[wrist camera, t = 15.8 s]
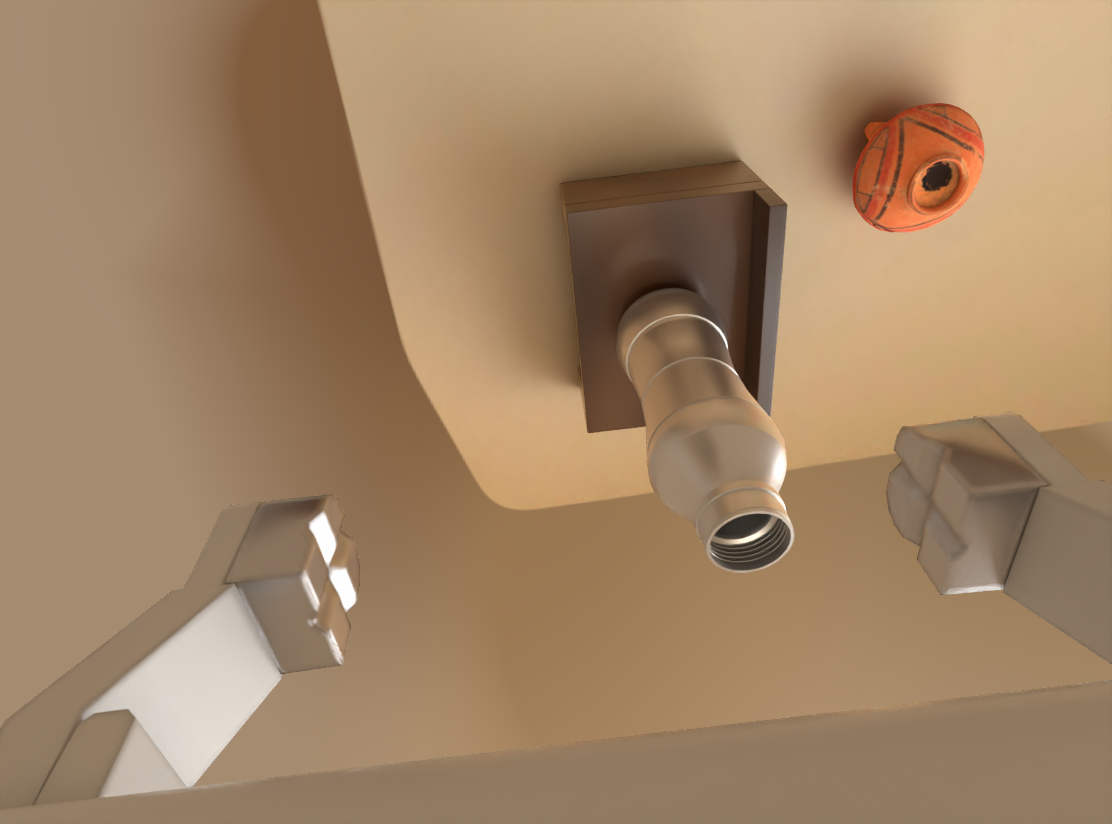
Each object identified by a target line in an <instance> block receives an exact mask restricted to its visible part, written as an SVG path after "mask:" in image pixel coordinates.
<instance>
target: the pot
mask: <svg viewBox="0 0 1112 824" xmlns="http://www.w3.org/2000/svg"><path fill="white" fill-rule="evenodd" d="M865 134H866V137H867V139H868V141H869V142H868V144H867V145H866V147H865V148H864V150H863V152H862V153H861V155H860V157H859V159H858V162H857V164H856V167H855V171H854V175H853V201H854V205H855V207H856V209H857V211H858V212H859V213H860V215H861V216H862V217H863V218H864V220H865V221H866V222H868V223H869V224H870V225H872V226H873V227H875V228H877V229H879V230H882V231H888V232H893V231H894V232H913V231H917V230H922V229H925V228H928V227H931V226H933V225H935V224H937V223H939V222H941V221H943V220H944V219H946V218H948V217H949V216H951V215H952V214H953V213H954V212H956V211H957V210H958V209H959V208H960V207H961V206H962V205H963V204H964V203H965V202H966V200H967V199H968V198H969V196H970V195H971V193H972V192H973V190H974V188H975V186H976V185H977V183H978V180H979V178H980V175H981V172H982V168H983V162H984V143H983V139H982V134H981V131H980V129H979V126H978V124H977V123H976V121H975V120H974V119H973V118H972V117H971V116H970V115H969V114H968V113H967V112H965V111H964V110H962V109H960V108H958V107H956V106H953V105H950V104H944V103H937V104H927V105H920V106H916V107H913V108H910V109H907V110H905V111H903V112H901V113H900V114H898V115H896V116H895V117H893V118H892V119H891V120H889V121H888V122H887V123H884V122H872V123H869V124H868V125H867V126H866V127H865Z"/></svg>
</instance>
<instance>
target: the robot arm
mask: <svg viewBox="0 0 1112 824" xmlns="http://www.w3.org/2000/svg"><path fill="white" fill-rule="evenodd" d="M894 451H895V452H896V453H897V455H898V456H899V457H900V459H901V460H902V461H901V462H900V463H899V464H898V465H897V466H896V467H895V468H894V469H893V470H892V472H890V474H889V477H888V484H887V490H886V495H887V502H888V509H889V513H890V515H891V518H892V521H893V523H894V525H895V527H896V528H897V530H898V531H899V533H900V535H901V536H902V537H903V538H905V539H907V540H909V541H911V542H912V543H914V544H916V545H918V546H920V548H919V553H918V557H917V560H918V562H919V563H920V565H921V566H922V568H923V569H924V571H925V572H926V574H927V575H928V577H929V578H930V580H931V581H932V583H933V584H934V586H935V587H936V589H937V590H938V592H939V593H940V595H944V594H955V593H967V592H978V591H989V590H999V589H1004V590H1003V593H1005V594H1006V595H1008V596H1009V597H1011V598H1012V599H1014V600H1016V601H1017V602H1019V603H1020V604H1022V605H1023V606H1025V607H1026V608H1028V609H1029V610H1031V611H1032V612H1034V613H1035V614H1037V615H1038V616H1040V617H1042V618H1043V619H1044V620H1046V621H1047V622H1049V623H1050V624H1052V625H1054V626H1055V627H1056V628H1058V629H1059V630H1061V631H1062V632H1064V633H1065V634H1067V635H1068V636H1070V637H1072V638H1073V639H1074V640H1076V641H1077V642H1079V643H1080V644H1082V645H1083V646H1085V647H1087V648H1088V649H1089V650H1091V651H1092V652H1094V653H1095V654H1097V655H1098V656H1100V657H1101V658H1103V659H1104V660H1106V661H1108V662H1109V663H1111V664H1112V483H1110V482H1107V481H1104V480H1100V481H1091V480H1090V479H1089V478H1087V477H1086V476H1085V475H1084V474H1083V473H1082V472H1081V471H1080V470H1079V469H1078V468H1077V467H1075V466H1074V465H1073V464H1072V463H1071V462H1070V461H1069V460H1068V459H1067V458H1066V457H1065V456H1064V455H1063V454H1062V453H1060V452H1059V451H1058V450H1057V449H1056V448H1055V447H1054V446H1053V445H1052V444H1051V443H1050V442H1049V441H1048V440H1046V439H1045V438H1044V437H1043V436H1042V435H1041V434H1040V433H1039V432H1038V431H1037V430H1036V429H1035V428H1034V427H1032V426H1031V425H1030V424H1029V423H1028V422H1027V421H1026V420H1025V419H1024V418H1023V417H1022V416H1020V415H1018V414H1016V413H1013V412H1010V411H1009V412H1002V413H995V414H988V415H981V416H974V417H973V418H967V419H959V420H951V421H943V422H935V423H927V424H919V425H911V426H903V427H902V428H901V430H900V431H899V433H898V435H897V437H896V442H895V447H894ZM343 519H344V513H343V510H342V508H341V505H340V503H339V501H338V498H336V497H335V496H333V495H323V496H311V497H301V498H291V499H281V500H270V501H264V502H254V503H245V504H236V505H230V506H228V507H227V508H225V509H224V510H223V511H222V512H221V514H220V516H219V518H218V520H217V522H216V524H215V526H214V528H213V530H212V532H211V534H210V536H209V538H208V540H207V542H206V544H205V546H204V548H203V550H202V552H201V554H200V556H199V558H198V560H197V562H196V565H195V567H194V569H193V571H192V573H191V575H190V576H189V578H188V581H187V583H186V585H185V587H184V589H182V590H174V591H171V592H170V593H169V594H167V595H166V596H165V597H164V598H163V599H161V600H160V601H159V602H157V603H156V604H155V605H153V606H152V607H151V608H149V609H148V610H147V611H146V612H144V613H143V614H142V615H140V616H139V617H138V618H137V619H135V620H134V621H133V622H131V623H130V624H129V625H128V626H126V627H125V628H124V629H122V630H121V631H120V632H118V633H117V634H116V635H115V636H113V637H112V638H111V639H110V640H108V641H107V642H106V643H104V644H103V645H102V646H100V647H99V648H98V649H97V650H96V651H94V652H93V653H92V654H90V655H89V656H88V657H86V658H85V659H84V660H82V661H81V662H80V663H79V664H77V665H76V666H75V667H73V668H72V669H71V670H70V671H68V672H67V673H66V674H64V675H63V676H62V677H61V678H59V679H58V680H57V681H55V682H54V683H53V684H52V685H50V686H49V687H48V688H46V689H45V690H44V691H43V692H41V693H40V694H39V695H38V696H36V697H35V698H33V699H32V700H31V701H30V702H28V703H27V704H26V705H24V706H23V707H22V708H21V709H19V710H18V711H17V712H16V713H14V714H13V715H12V716H10V717H9V718H8V719H6V720H5V722H4V723H3V725H2V727H1V728H0V824H1112V680H1108V681H1100V682H1091V683H1082V684H1074V685H1066V686H1057V687H1048V688H1040V689H1031V690H1022V691H1014V692H1005V693H996V694H988V695H979V696H971V697H962V698H953V699H946V700H945V699H944V700H936V701H927V702H919V703H910V704H902V705H894V706H884V707H876V708H867V709H859V710H850V711H841V712H833V713H825V714H816V715H807V716H799V717H790V718H782V719H773V720H764V721H756V722H748V723H738V724H731V725H721V726H712V727H704V728H696V729H687V730H678V731H669V732H661V733H652V734H644V735H635V736H626V737H618V738H609V739H600V740H592V741H583V742H576V743H567V744H557V745H549V746H540V747H532V748H523V749H515V750H506V751H497V752H489V753H480V754H472V755H463V756H454V757H446V758H438V759H428V760H420V761H412V762H403V763H395V764H385V765H377V766H369V767H360V768H351V769H343V770H335V771H325V772H317V773H308V774H300V775H291V776H283V777H274V778H265V779H257V780H248V781H241V782H240V781H239V782H231V783H222V784H214V785H205V786H197V787H192V786H193V785H194V784H195V783H196V782H197V780H198V779H199V778H200V777H201V775H202V774H203V773H204V772H205V771H206V769H207V768H208V767H209V766H210V765H211V763H212V762H213V761H214V760H215V758H216V757H217V756H218V755H219V754H220V752H221V751H222V750H223V749H224V747H225V746H226V745H227V744H228V743H229V741H230V740H231V739H232V738H233V736H234V735H235V734H236V733H237V732H238V730H239V729H240V728H241V727H242V726H243V724H244V723H245V722H246V721H247V719H248V718H249V717H250V716H251V715H252V713H253V712H254V711H255V710H256V709H257V707H258V706H259V705H260V704H261V702H262V701H263V700H264V699H265V697H266V696H267V695H268V694H269V693H270V691H271V690H272V689H273V688H274V687H275V685H276V684H277V683H278V682H279V680H280V679H281V678H282V676H281V674H285V673H292V672H299V671H306V670H313V669H319V668H326V667H333V666H340V665H342V664H343V660H344V655H345V651H346V646H347V642H348V638H349V633H350V629H351V625H350V622H349V620H348V617H347V614H346V611H347V610H348V609H349V608H350V607H351V606H352V605H353V604H354V603H355V602H356V601H357V596H358V591H359V586H360V564H359V558H358V553H357V549H356V546H355V543H354V540H353V538H352V537H350V536H349V535H348V534H346V533H345V532H343V531H342V530H341V527H342V523H343Z"/></svg>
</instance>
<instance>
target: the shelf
mask: <svg viewBox="0 0 1112 824" xmlns="http://www.w3.org/2000/svg"><path fill="white" fill-rule="evenodd" d="M560 191H561V201H562V211H563V216H564V221H565V226H566V231H567V235H568V245H569V256H570V266H571V276H572V286H573V297H574V307H575V317H576V327H577V338H578V348H579V358H580V367H579V368H578V371H579V381H580V390H581V396H582V402H583V408H584V414H585V420H586V426H587V432H588V433H594V432H602V431H611V430H619V429H628V428H636V427H644V426H646V424H645V419H644V413H643V408H642V403H641V401H640V398H639V396H638V394H637V391H636V389H635V387H634V384H633V383H632V382H631V380H630V379H629V378H628V376H627V375H626V373H625V371H624V369H623V368H622V366H621V364H620V361H619V359H618V356H617V351H616V343H617V330H618V326H619V323H620V320H621V318H622V316H623V314H624V313H625V312H626V310H627V309H628V308H629V307H630V306H631V305H632V304H633V303H634V302H635V301H636V300H637V299H639V298H641V297H642V296H644V295H646V294H648V293H650V292H653V291H655V290H660V289H664V288H680V289H686V290H689V291H692V292H695V293H696V294H698V295H700V296H701V297H703V298H704V299H705V300H706V301H707V302H708V303H709V304H710V305H711V306H712V307H713V308H714V309H715V310H716V311H717V312H718V314H719V315H720V317H721V319H722V322H723V325H724V328H725V332H726V336H727V345H728V352H729V355H730V358H731V361H732V364H733V367H734V370H735V371H736V373H737V374H738V376H739V378H740V380H741V381H742V383H743V384H744V386H745V387H746V389H747V391H748V392H749V393H750V394H751V396H752V397H753V398H754V399H755V400H756V401H757V403H758V404H759V405H760V406H761V407H762V408H763V410H764V411H765V412H766V413H767V414H768V416H769V417H770V418H771V406H772V393H773V380H774V368H775V355H776V342H777V330H778V317H779V305H780V292H781V279H782V267H783V254H784V241H785V229H786V216H787V204H786V203H785V202H784V201H783V200H782V199H781V198H780V197H779V196H778V195H777V194H776V193H775V192H774V191H773V190H772V189H771V188H770V187H769V186H768V185H767V184H765V183H764V182H763V181H762V180H761V179H760V178H759V177H758V176H757V175H756V174H755V173H754V172H753V171H752V170H751V169H750V168H749V167H748V166H747V165H746V164H745V163H744V162H743V161H738V162H730V163H722V164H713V165H705V166H697V167H689V168H681V169H672V170H664V171H656V172H648V173H640V174H632V175H623V176H615V177H607V178H599V179H591V180H583V181H574V182H566V183H560Z"/></svg>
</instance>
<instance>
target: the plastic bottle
mask: <svg viewBox="0 0 1112 824" xmlns="http://www.w3.org/2000/svg"><path fill="white" fill-rule="evenodd" d="M616 351H617V356H618V359H619V361H620V364H621V366H622V368H623V369H624V371H625V373H626V375H627V376H628V378H629V379H630V380H631V382H632V383H633V384H634V387H635V389H636V391H637V394H638V396H639V398H640V401H641V403H642V408H643V413H644V419H645V424H646V448H647V466H648V474H649V479H650V483H651V485H652V487H653V489H654V491H655V493H656V494H657V495H658V497H659V498H660V499H661V500H662V501H663V503H664V504H665V505H666V506H667V507H668V509H670V510H671V511H672V512H674V513H675V514H677V515H679V516H681V517H683V518H685V519H686V520H688V521H691V522H693V523H694V527H695V530H696V533H697V535H698V537H699V539H700V540H701V541H702V543H703V546H704V549H705V552H706V554H707V556H708V557H709V559H710V560H711V562H712V563H714V565H716V566H717V567H719V568H721V569H723V570H726V571H730V572H737V573H744V572H753V571H757V570H761V569H764V568H766V567H768V566H770V565H773V564H774V563H776V562H777V561H779V560H780V559H781V558H782V557H783V556H785V555H786V553H787V552H788V551H789V550H790V548H791V546H792V544H793V540H794V530H793V526H792V523H791V521H790V519H789V517H788V515H787V513H786V507H785V505H784V502H783V500H782V498H781V496H780V495H779V491H780V487H781V485H782V483H783V480H784V478H785V473H786V469H787V463H786V445H785V442H784V439H783V436H782V434H781V433H780V431H779V430H778V428H777V427H776V425H775V424H774V422H773V421H772V419H771V418H770V417H769V416H768V414H767V413H766V412H765V411H764V410H763V408H762V407H761V406H760V405H759V404H758V403H757V401H756V400H755V399H754V398H753V397H752V396H751V394H750V393H749V392H748V391H747V389H746V387H745V386H744V384H743V383H742V381H741V380H740V378H739V376H738V374H737V373H736V371H735V370H734V367H733V364H732V361H731V358H730V355H729V352H728V345H727V336H726V332H725V328H724V325H723V322H722V319H721V317H720V315H719V314H718V312H717V311H716V310H715V309H714V308H713V307H712V306H711V305H710V304H709V303H708V302H707V301H706V300H705V299H704V298H703V297H701V296H700V295H698V294H696V293H695V292H692V291H689V290H686V289H680V288H664V289H660V290H655V291H653V292H650V293H648V294H646V295H644V296H642V297H641V298H639V299H637V300H636V301H635V302H634V303H633V304H632V305H631V306H630V307H629V308H628V309H627V310H626V312H625V313H624V314H623V316H622V318H621V320H620V323H619V326H618V330H617V343H616Z"/></svg>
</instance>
